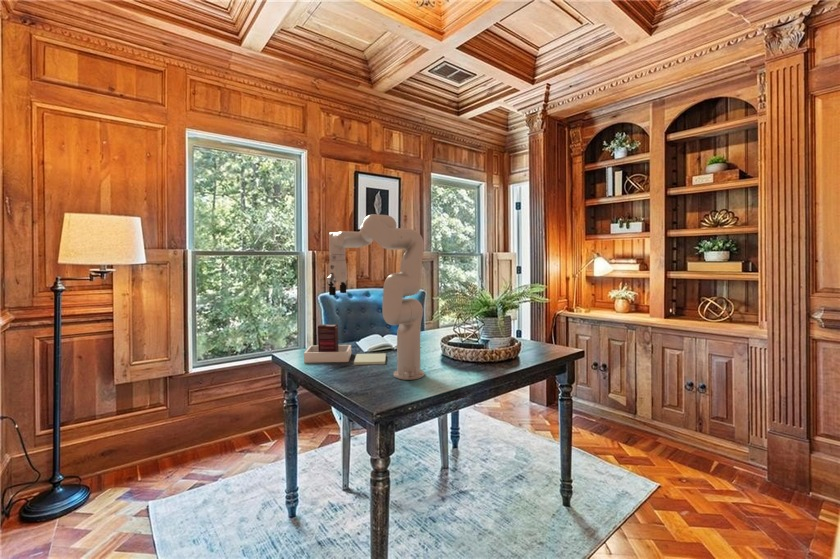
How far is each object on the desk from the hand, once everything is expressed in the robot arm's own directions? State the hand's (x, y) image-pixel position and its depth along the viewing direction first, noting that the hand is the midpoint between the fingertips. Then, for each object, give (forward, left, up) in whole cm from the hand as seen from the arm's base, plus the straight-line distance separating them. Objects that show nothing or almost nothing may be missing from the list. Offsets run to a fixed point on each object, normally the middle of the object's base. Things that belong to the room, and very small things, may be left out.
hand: (337, 294), depth 195 cm
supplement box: (-3, +4, -30) cm, 31 cm away
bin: (-3, +4, -30) cm, 31 cm away
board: (-8, -16, -30) cm, 35 cm away
